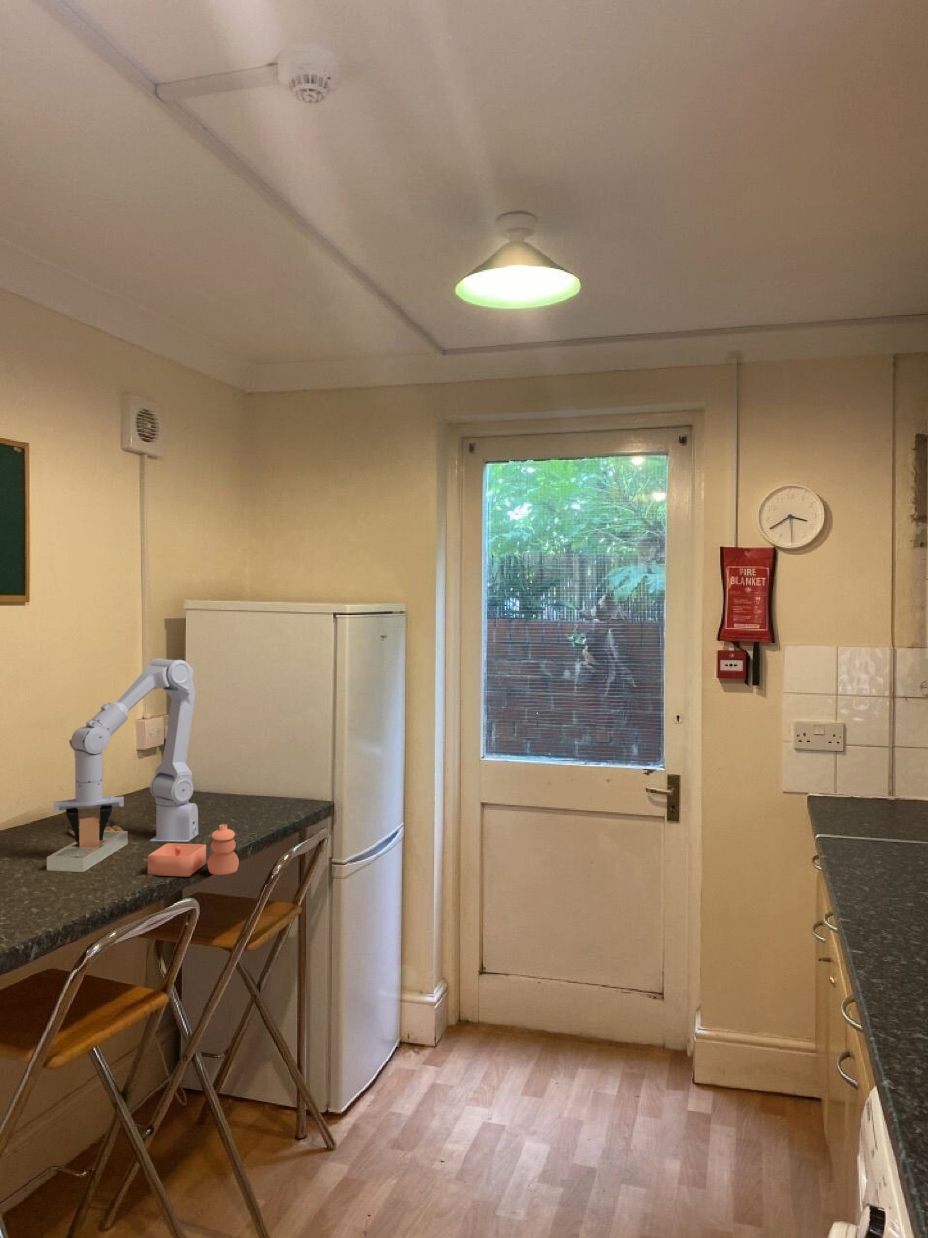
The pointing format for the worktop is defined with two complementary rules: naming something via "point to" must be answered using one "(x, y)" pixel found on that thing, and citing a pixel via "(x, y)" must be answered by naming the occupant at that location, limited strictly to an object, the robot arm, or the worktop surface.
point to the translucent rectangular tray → (86, 853)
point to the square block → (89, 830)
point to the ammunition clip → (109, 827)
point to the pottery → (196, 856)
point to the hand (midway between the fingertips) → (89, 840)
